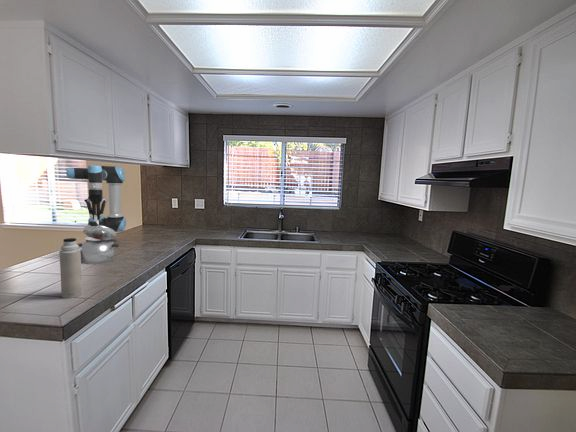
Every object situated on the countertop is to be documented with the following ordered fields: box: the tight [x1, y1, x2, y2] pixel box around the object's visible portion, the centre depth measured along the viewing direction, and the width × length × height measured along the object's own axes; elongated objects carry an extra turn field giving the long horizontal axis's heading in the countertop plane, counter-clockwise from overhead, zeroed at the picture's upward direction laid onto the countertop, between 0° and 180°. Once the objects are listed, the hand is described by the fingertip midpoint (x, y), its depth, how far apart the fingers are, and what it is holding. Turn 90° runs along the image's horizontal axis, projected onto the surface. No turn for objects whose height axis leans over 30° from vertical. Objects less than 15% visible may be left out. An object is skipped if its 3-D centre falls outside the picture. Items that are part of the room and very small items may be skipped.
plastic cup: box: [84, 236, 99, 242], centre depth 211 cm, size 11×11×12 cm
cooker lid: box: [82, 221, 117, 241], centre depth 197 cm, size 23×19×4 cm
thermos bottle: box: [59, 237, 83, 299], centre depth 139 cm, size 8×8×28 cm
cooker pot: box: [76, 240, 120, 265], centre depth 197 cm, size 18×25×12 cm
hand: (96, 224), depth 193 cm, fingers closed
